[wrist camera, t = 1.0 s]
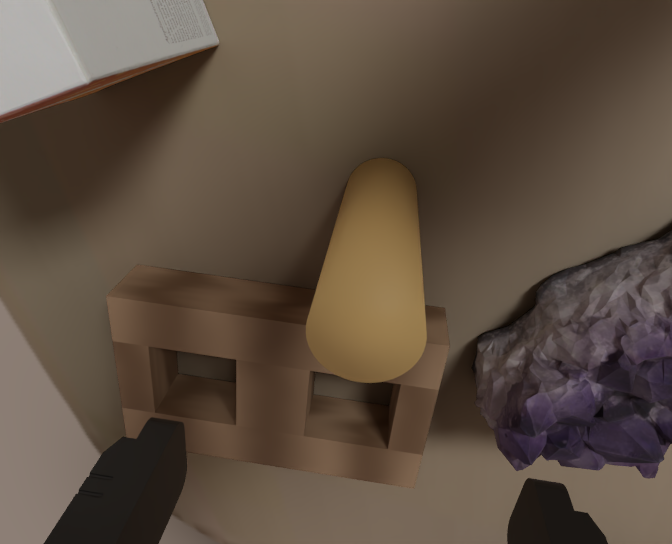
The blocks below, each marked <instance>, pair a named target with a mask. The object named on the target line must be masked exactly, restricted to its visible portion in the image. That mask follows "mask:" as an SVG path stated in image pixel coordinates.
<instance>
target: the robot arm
mask: <svg viewBox="0 0 672 544" xmlns="http://www.w3.org/2000/svg"><path fill="white" fill-rule="evenodd" d="M186 472H187V458H186V441H185V427H184V423H183V422H180V421H173V420H167V419H161V418H154V417H151V418H150V419H149V420H148V421H147V422H146V424H145V425H144V427H143V429H142V430H141V432H140V434H139V435H138V437H137V439H134V438H128V437H122V438H121V439H120V440H118V441H117V442H116V443H115V444H113V445H112V446H111V447H110V448H108V449H107V450H106V451H105V452H103V454H102V455H101V457H100V458H99V460H98V461H97V463H96V464H95V466H94V467H93V469H92V470H91V472H90V476H89V477H87V478H86V480H85V481H84V483H83V484H82V486H81V487H80V489H79V492H78V494H76V495H75V497H74V498H73V500H72V501H71V503H70V504H69V506H68V507H67V509H66V511H65V512H64V513H63V515H62V516H61V518H60V520H59V521H58V523H57V524H56V526H55V527H54V529H53V530H52V532H51V533H50V535H49V536H48V538H47V540H46V541H45V543H44V544H158V543H159V541H160V539H161V537H162V534H163V532H164V530H165V528H166V525H167V523H168V521H169V519H170V517H171V514H172V512H173V510H174V508H175V505H176V503H177V501H178V499H179V496H180V494H181V492H182V489H183V486H184V482H185V478H186ZM507 541H508V544H608V543H607V540H606V537H605V535H604V534H603V533H602V532H601V530H600V529H599V528H598V526H597V525H596V524H595V522H594V521H593V520H592V518H591V517H590V516H589V514H588V513H584V512H578V511H574V509H573V506H572V503H571V500H570V497H569V494H568V491H567V489H566V487H565V486H564V485H563V484H561V483H556V482H549V481H543V480H537V479H531V478H528V479H527V480H526V481H525V483H524V485H523V488H522V490H521V493H520V495H519V498H518V500H517V503H516V505H515V507H514V510H513V512H512V515H511V517H510V520H509V524H508V533H507Z"/></svg>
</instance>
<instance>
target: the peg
mask: <svg viewBox="0 0 672 544" xmlns="http://www.w3.org/2000/svg"><path fill="white" fill-rule="evenodd" d="M306 338H307V342H308V345H309V348H310V350H311V352H312V353H313V355H314V357H315V358H316V359H317V360H318V361H319V363H320V364H321V365H323V366H324V367H325V368H326V369H327V370H329V371H330V372H332V373H334V374H335V375H337V376H339V377H342V378H344V379H347V380H351V381H355V382H362V383H377V382H384V381H388V380H391V379H394V378H396V377H399V376H401V375H403V374H404V373H406V372H407V371H409V370H410V369H411V368H412V367H413V366H414V365H415V364H416V363H417V362H418V360H419V359H420V357H421V356H422V354H423V352H424V349H425V346H426V340H427V330H426V316H425V302H424V287H423V273H422V259H421V244H420V230H419V216H418V202H417V188H416V183H415V180H414V178H413V176H412V174H411V173H410V171H409V170H408V169H407V168H406V167H405V166H404V165H402V164H401V163H399V162H397V161H395V160H392V159H388V158H375V159H371V160H368V161H366V162H364V163H362V164H361V165H359V166H358V167H357V168H356V169H355V170H354V171H353V172H352V174H351V175H350V177H349V179H348V183H347V186H346V189H345V193H344V196H343V199H342V203H341V206H340V210H339V213H338V216H337V220H336V223H335V227H334V230H333V234H332V237H331V240H330V244H329V247H328V251H327V254H326V257H325V261H324V264H323V268H322V271H321V274H320V278H319V281H318V285H317V288H316V291H315V295H314V298H313V302H312V305H311V308H310V312H309V315H308V319H307V323H306Z"/></svg>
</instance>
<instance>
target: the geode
mask: <svg viewBox="0 0 672 544" xmlns="http://www.w3.org/2000/svg"><path fill="white" fill-rule="evenodd" d="M535 301H536V305H535V306H534V307H533V308H532V309H531V310H530V311H528V312H527V313H526V314H524V315H523V316H522V317H520V318H519V319H517V320H516V321H515V322H513V323H512V324H511V325H509V326H508V327H505V328H501V329H498V330H494V331H491V332H487V333H484V334H482V335H480V336H478V341H477V351H476V356H475V359H474V362H473V365H472V370H473V372H474V374H475V382H476V386H477V399H476V401H475V405H476V406H477V407H481V412H480V414H481V415H482V416H483V417H484V418H485V419H486V421H487V423H488V425H489V427H490V428H491V429H493V430H494V433H495V438H496V442H497V446H498V449H499V450H500V451H501V452H502V453H503V455H504V456H505V457H506V458H507V460H508V461H509V462H510V463H511V465H512V466H513V467H514V468H515V470H516V471H518V470H523V469H525V468H526V467H528V466H529V465H532V464H533V462H534V461H535V460H536V458H538V457H539V456H540V455H542V456H543V457H544V458H545V459H546V460H558V462H559V463H560V465H561V466H566V467H575V468H583V469H591V470H600V469H602V468H603V466H604V465H605V463H606V464H610V465H618V466H629V467H632V466H636V467H637V469H638V470H639V471H640V473H641V474H642V476H643V477H644V478H655V476H656V473H657V471H658V465H659V463H660V462H661V461H663V460H664V457H663V456H664V454H665V452H666V451H667V449H668V447H669V445H670V444H672V230H671V231H669V232H668V233H666V234H665V235H664V236H662V237H661V238H659V239H657V240H652V241H647V242H643V243H638V244H634V245H630V246H626V247H622V248H620V249H619V250H618V251H616V252H615V253H613V254H610V255H607V256H605V257H602V258H600V259H597V260H595V261H592V262H590V263H587V264H584V265H580V266H576V267H572V268H569V269H566V270H564V271H562V272H559V273H557V274H555V275H552V276H551V277H550V278H549V279H548V280H546V281H545V282H544V283H543V284H542V285H541V286H540V287H539V289H538V290H537V292H536V298H535Z"/></svg>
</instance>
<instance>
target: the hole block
mask: <svg viewBox="0 0 672 544" xmlns="http://www.w3.org/2000/svg"><path fill="white" fill-rule="evenodd" d="M315 291H316V290H314V289H307V288H299V287H292V286H285V285H278V284H271V283H264V282H257V281H250V280H243V279H236V278H229V277H222V276H215V275H208V274H201V273H193V272H186V271H179V270H172V269H165V268H158V267H151V266H144V265H136V266H135V267H134V268H133V269H132V270H131V271H130V272H129V273H128V274H127V275H126V276H125V278H124V279H123V280H122V281H121V282H120V283H119V284H118V285H117V286H116V287H115V288H114V289H113V290H112V291H111V292H110V293H109V294H108V295H107V296H106V298H107V305H108V312H109V319H110V326H111V333H112V340H113V347H114V354H115V361H116V368H117V375H118V382H119V389H120V396H121V403H122V410H123V416H124V423H125V430H126V437H128V438H134V439H137V437H138V435H139V434H140V432H141V430H142V429H143V427H144V425H145V424H146V422H147V421H148V420H149V419H150V418H151V417H154V418H161V419H167V420H173V421H180V422H183V423H184V427H185V441H186V452H190V453H196V454H202V455H209V456H215V457H221V458H227V459H233V460H240V461H246V462H252V463H258V464H264V465H271V466H277V467H283V468H289V469H295V470H302V471H308V472H314V473H320V474H326V475H333V476H339V477H345V478H351V479H357V480H364V481H370V482H376V483H382V484H388V485H395V486H401V487H407V488H413V489H414V487H415V483H416V479H417V475H418V471H419V467H420V463H421V459H422V455H423V451H424V447H425V443H426V439H427V435H428V431H429V427H430V423H431V419H432V415H433V411H434V407H435V403H436V399H437V396H438V392H439V388H440V384H441V380H442V376H443V372H444V368H445V364H446V360H447V356H448V352H449V348H450V343H449V335H448V328H447V320H446V313H445V308H441V307H434V306H427V305H425V316H426V330H427V340H426V346H425V349H424V352H423V354H422V356H421V357H420V359H419V360H418V362H417V363H416V364H415V365H414V366H413V367H412V368H411V369H410V370H409V371H407V372H406V373H404V374H403V375H401V376H399V377H396V378H394V379H391V380H388V381H384V382H388V383H394V384H393V389H392V394H391V399H390V405H389V406H385V405H379V404H372V403H366V402H359V401H353V400H346V399H340V398H333V397H327V396H320V395H313V391H314V381H315V372H322V373H328V374H334V373H332V372H330V371H329V370H327V369H326V368H325V367H324V366H323V365H321V364H320V363H319V361H318V360H317V359H316V358H315V357H314V355H313V353H312V352H311V350H310V348H309V345H308V342H307V338H306V323H307V319H308V315H309V312H310V308H311V305H312V302H313V298H314V295H315ZM177 351H182V352H188V353H195V354H202V355H208V356H215V357H222V358H228V359H235V360H236V383H235V382H228V381H222V380H215V379H209V378H202V377H196V376H189V375H183V374H178V365H177Z"/></svg>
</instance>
